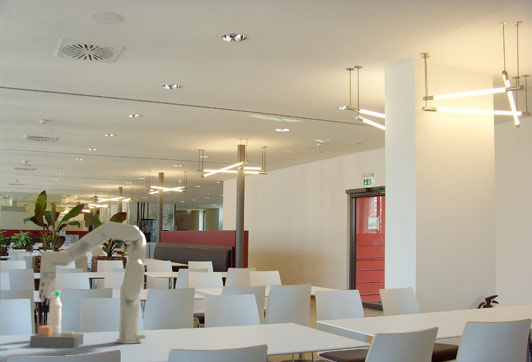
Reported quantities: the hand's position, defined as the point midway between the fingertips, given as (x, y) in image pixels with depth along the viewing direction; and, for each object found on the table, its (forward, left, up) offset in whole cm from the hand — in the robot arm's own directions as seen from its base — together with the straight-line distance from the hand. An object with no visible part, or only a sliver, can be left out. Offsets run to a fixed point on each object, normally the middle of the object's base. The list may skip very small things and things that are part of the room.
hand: (45, 312), depth 305 cm
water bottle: (+3, -16, -16) cm, 23 cm away
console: (-6, 0, -16) cm, 17 cm away
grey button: (-12, 0, -14) cm, 19 cm away
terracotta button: (0, 0, -12) cm, 12 cm away
